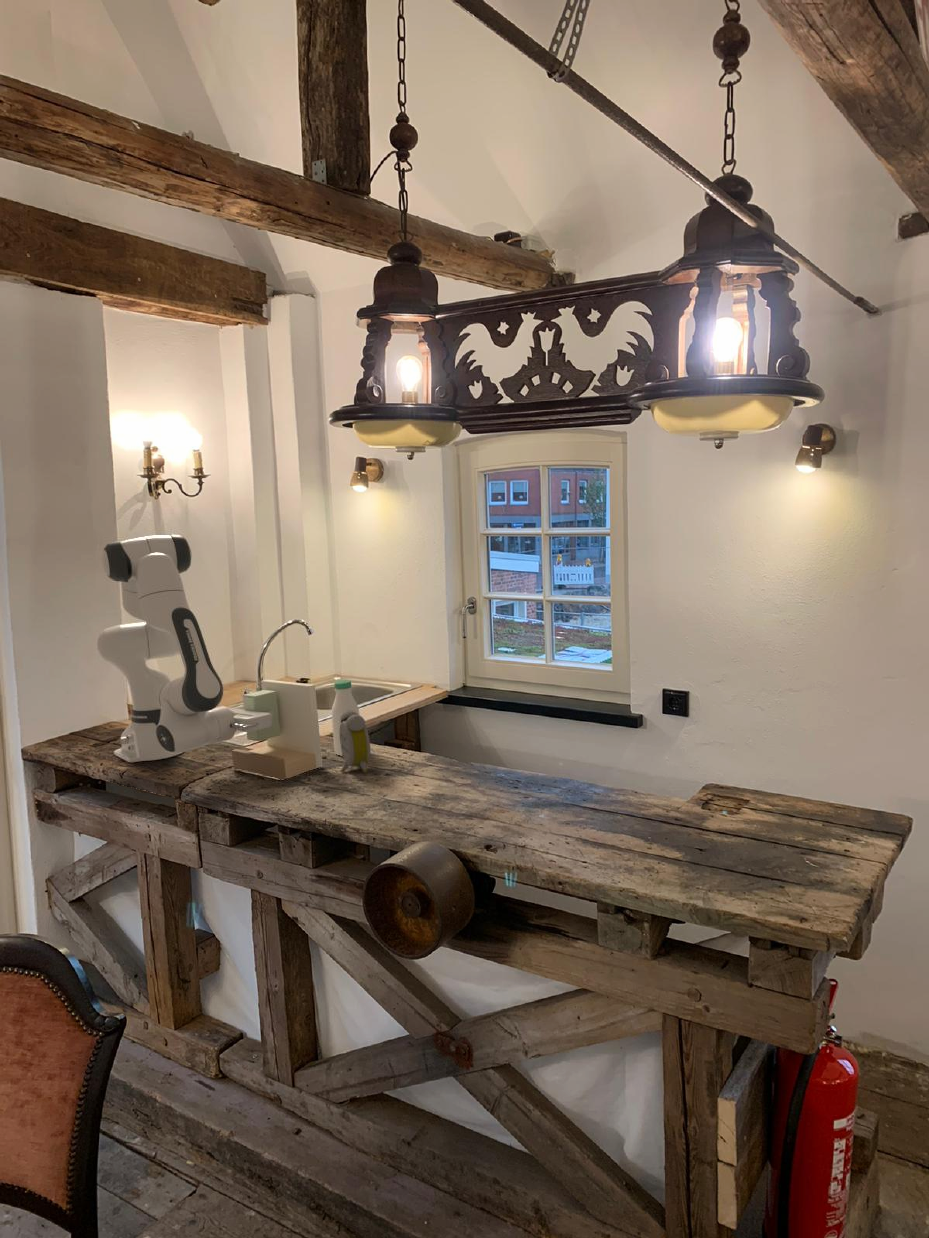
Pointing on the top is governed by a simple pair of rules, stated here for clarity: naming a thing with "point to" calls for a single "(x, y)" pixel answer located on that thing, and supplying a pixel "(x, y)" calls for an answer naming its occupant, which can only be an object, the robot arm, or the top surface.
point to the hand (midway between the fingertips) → (264, 712)
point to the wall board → (287, 735)
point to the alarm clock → (354, 740)
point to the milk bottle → (341, 710)
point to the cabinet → (263, 703)
